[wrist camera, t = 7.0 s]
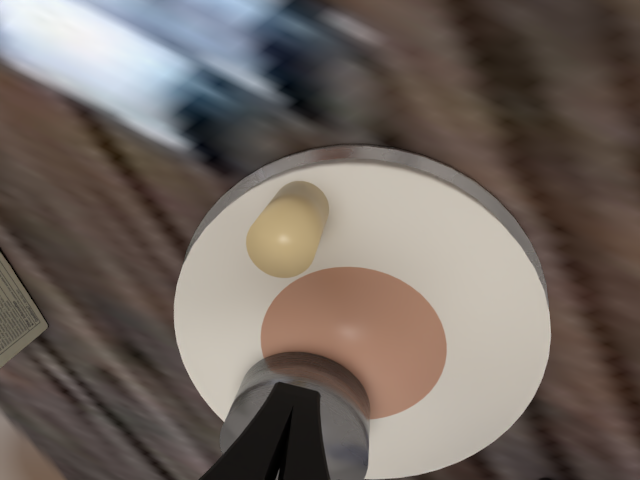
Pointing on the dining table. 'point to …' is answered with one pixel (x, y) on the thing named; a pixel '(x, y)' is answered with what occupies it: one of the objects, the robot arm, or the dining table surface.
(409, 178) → the disc
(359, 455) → the cover
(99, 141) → the dining table surface
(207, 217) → the turntable base
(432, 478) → the dining table surface
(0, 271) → the skincare box
